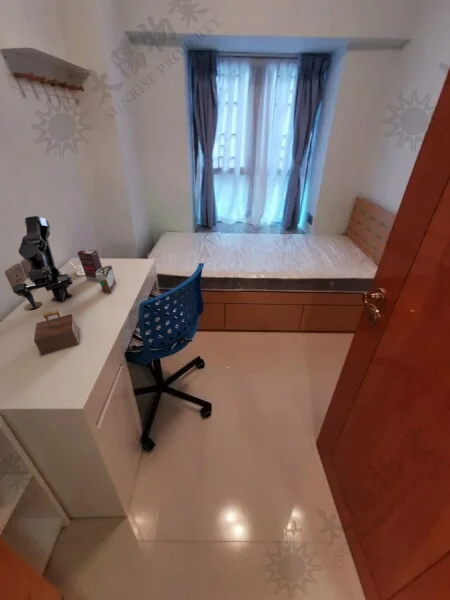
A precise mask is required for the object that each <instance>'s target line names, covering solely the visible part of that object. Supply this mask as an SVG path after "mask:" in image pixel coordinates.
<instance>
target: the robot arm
mask: <svg viewBox="0 0 450 600" xmlns="http://www.w3.org/2000/svg"><path fill="white" fill-rule="evenodd" d="M24 225H25V227H26V233H25V234H26V235H24V236H23V237H22V239H21V243H20V246H19V247H18V254H19V255H20V256H21V258H23V259H24V260H25V261H26V262H27V263H28V264H29V268H30V271H27V275H28V279H29V281H30V282H32V283H33V284H30V285H28V284H27V283H26V282H23V283H17V284H14V285H13V286H12V292H13V293H14V294H15V295H17V296H18V297H23V298H25V299H26V300H27V301H28V303H30V305H31V307H32V308H33V309H34V310H37V305H36V301H35V298H34V295H33V293H32V291H34V290H38V289H41V288H42V289H43V288H44V289H45V290H46V292H49V291H51V293H52V296H53V297H52V298H51V301H55V302H58V303H62V304H64V302H65V301H66V300H68V299H69V298H71V297H72V296H73V294H72V293H69V292H68V288H70V286H71V285H73V284H74V283H73V279H72V277H71V276H70V275H69V274H68V273H64V274H63V273H62V272H61V270H59V269H58V268H57V267H56V263H55V260H54V257H53V252H52V248H51V245H50V241H49V237H50V235H51V232H50V229H51V226H50V223H49V221H48V220H47V218H45V217H40V216H39V215H32V216H27V217H25V218H24Z"/></svg>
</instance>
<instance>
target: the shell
mask: <svg viewBox="0 0 450 600" xmlns="http://www.w3.org/2000/svg"><path fill="white" fill-rule="evenodd" d="M77 256H78V255H77ZM69 263H70V264H71V266H72V268H73V269H75V270H76V273H75V274H76V276H86V275H85V272H84V269H83V267H82V264H81V261H80V259H79V256H78V263H79V264H78V265H77V263H76V264H73V263H72V262H70V261H69ZM76 265H77V266H76Z"/></svg>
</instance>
